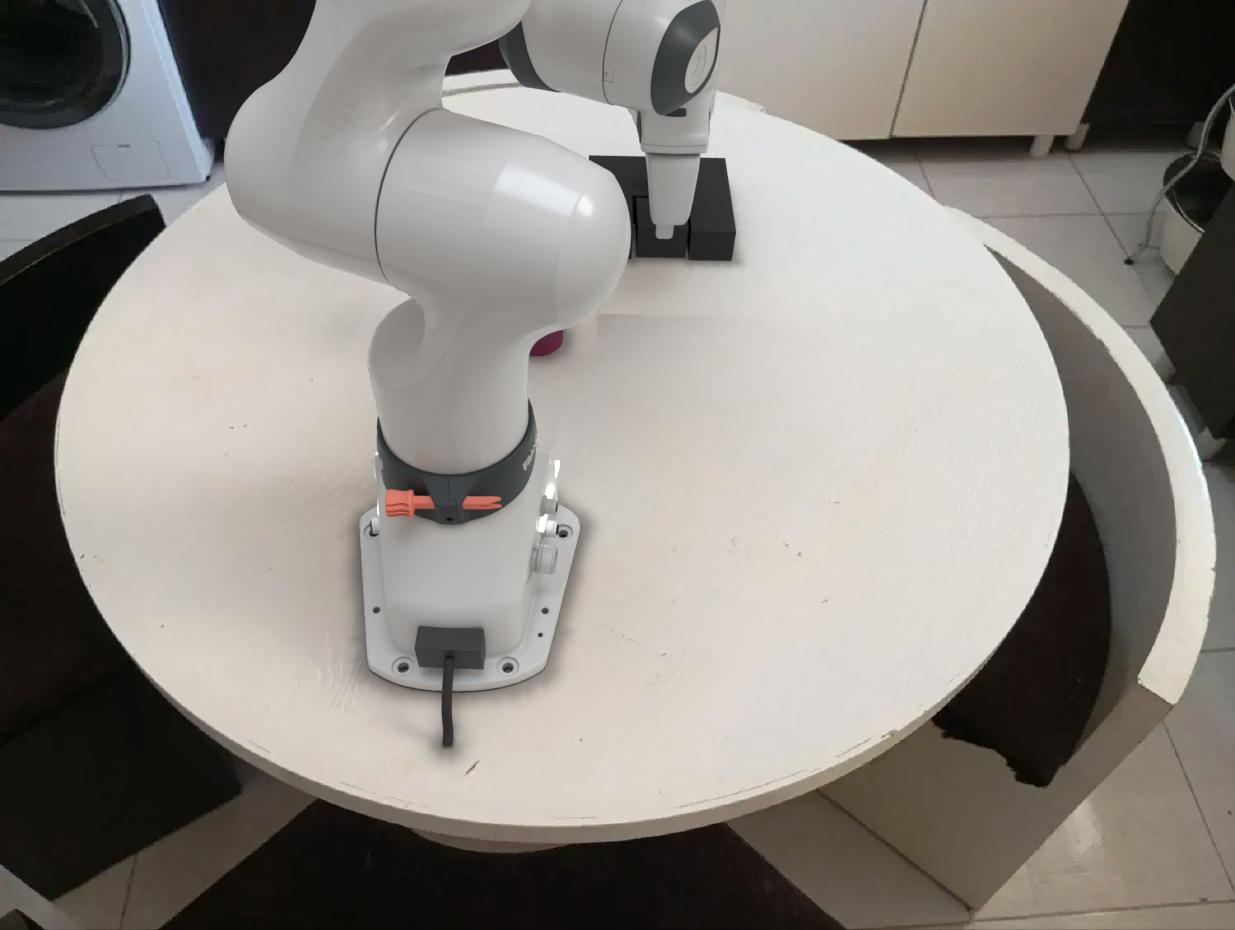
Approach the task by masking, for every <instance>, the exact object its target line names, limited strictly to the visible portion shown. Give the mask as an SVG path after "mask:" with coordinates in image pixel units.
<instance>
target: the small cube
mask: <svg viewBox="0 0 1235 930" xmlns="http://www.w3.org/2000/svg"><path fill="white" fill-rule="evenodd" d="M655 226H656V224H653V223H652V220H651V216H650V206H649V198H636V214H635V224H634V237H635V240H634V241H635V242H634V243H635V257H636V258H654V259H655V258H656V259H657V258H661V259H663V258H664V259H686V256H687V239H688V229H689V228H688V220H687V222H686V223H685V224H684V225H674V228H673V236H672V238H670V239H658V238H657V237H656V229H655Z"/></svg>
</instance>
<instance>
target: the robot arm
mask: <svg viewBox="0 0 1235 930" xmlns="http://www.w3.org/2000/svg"><path fill="white" fill-rule="evenodd" d="M726 8H727V0H315V5H314V9H313V13H312V15H311V18H310V21H309V24H308V27H307V29H306V32H305V34H304V36H303V39H302V40H301V43H300V45H299V46H298V48H297V50H296V52H295V54H294V55H293V57H292V58H291V60H290V61H289V63H288V64H286V66H285V67H283V69H282V71H281V72H279V73H278V74H277V75H276V76H275V77H274V78H272V79H271V80H269V81H268V82H266V83H264V84H263V85H261V86H259V87H258V88H257V89H256V90H255V91H254V92H253V93H252V94H251V95H249V96H248V98H246V100H245V101H244V102H243V103H242V105H241V106H240V108H239V109H238V111H237V112H236V114H235V116H234V117H233V120H232V122H231V124H230V126H229V130H228V132H227V136H226V140H225V145H224V152H223V168H224V169H223V170H224V179H225V185H226V188H227V191H228V194H229V198H230V201H231V203H232V205H233V208H234V209H235V211H236V212H237V214H238V215H239V217H240V218H241V219H242V220H243V221H244V222H245V223H246V224H247V225H248V226H250V227H251V228H253V229H255V230H256V231H257V232H259V233H261V234H263V235H264V236H266V237H268V238H269V239H271V240H273V241H274V242H275V243H277V244H279V245H281V246H282V247H285V248H287V249H288V250H290V251H292V253H293V252H294V253H295V254H297V255H299V256H301V257H302V258H304V259H306V260H308V261H310V262H313V263H316V264H320V265H323V266H327V267H329V268H333V269H336V270H339V271H342V272H345V273H348V274H351V275H353V276H354V275H355V276H358V277H361V278H364V279H367V280H370V281H372V282H373V281H374V282H377V283H380V284H383V285H386V286H389V287H393V288H394V289H396V290H398V291H399V292H402V293H405V294H406V295H408V296H409V297H410V298H408V299H406V300H405V301H402V302H401V303H399V304H398V305H397V306H395V307H393V308H392V309H391V310H390V311H388V313H387V314H386V315H385V316H384V317H382V319H381V320H380V322H379V324H378V325H377V326H376V328H375V330H374V332H373V334H372V337H371V340H370V343H369V346H368V350H367V355H366V357H367V358H366V366H367V371H368V375H369V380H370V384H371V389H372V393H373V399H374V402H375V403H374V404H375V406H376V411H377V418H376V449H377V452H375V457H373V458H371V460H370V464H371V467H372V471H373V475H374V478H375V483H376V497H377V498H376V499H377V505H375V506H374V507H372V508H370V509H369V510H367V511H366V512H364V513H363V514H361V517H360V519H359V521H358V523H359V524H358V525H359V542H360V560H361V573H362V574H361V576H362V578H361V579H362V595H363V596H362V597H363V609H364V611H363V613H364V628H365V644H366V645H365V646H366V659H367V665H368V668H369V670H370V671H371V672H373V673H374V674H375V675H376V676H379V677H380V678H383V679H385V680H387V681H389V682H391V683H394V684H397V685H400V686H403V687H407V688H413V689H418V690H424V691H425V690H426V691H434V692H435V691H437V692H438V691H439V692H441V705H440V706H441V708H440V709H441V710H440V711H441V721H442V722H441V723H442V742H441V743H442V744H441V745H442V746H443V747H452V746H453V744H454V721H453V692H473V691H474V692H475V691H484V690H492V689H497V688H503V687H507V686H511V685H515V684H517V683H520V682H523V681H525V680H528V679H529V678H531V677H533V676H535V675H537V674H538V673H540V672H542V671H544V669H545V667H546V665H547V663H548V659H549V656H550V651H551V647H552V645H553V640H554V636H555V631H556V628H557V623H558V621H559V616H560V612H561V608H562V604H563V601H564V596H565V593H566V590H567V589H566V588H567V585H568V581H569V576H570V573H571V568H572V564H573V561H574V557H575V553H576V549H577V544H578V541H579V537H580V534H581V533H580V532H581V524H580V519H579V517H578V515H576V514H575V512H573V511H572V510H570V509H568V508H567V507H565V506H564V505H562V504H559V497H558V495H559V494H558V482H557V477H558V473H559V470H560V460H554V459H552V457H551V456H550V455H549V454H548V453H546V452H545V451H544V450H543V449H542V448H541V447H540V446H539V445H538V444H537V439H538V430H537V420H536V417H535V414H534V408H533V404H532V401H531V400H530V398H529V390H528V389H529V387H528V382H529V381H528V379H529V359H530V355H529V353H530V350H531V348H532V347H533V345H534V344H535V343H536V342H537V341H538V340H539V339H540V338H542V337H544V336H546V335H547V334H550V333H552V332H555V331H559V330H563V329H564V330H568V329H571V328H574V327H576V326H578V325H579V324H581V323H583V322H584V321H586V320H587V319H589V318H590V317H591V316H593V315H594V314H595V313H596V312H597V311H598V310H600V309H601V308H603V305H604V304H606V302H607V301H608V300H609V298H610V297H611V296H612V295H613V293H614V292H615V290H616V288H617V286H618V285H619V284H620V282H621V280H622V277H623V275H624V272H625V270H626V267H627V264H628V260H629V259H628V256H629V251H630V244H631V224H630V216H629V211H628V207H627V203H626V199H625V197H624V194H623V192H622V189H621V187H620V185H619V183H618V181H617V180H616V178H615V176H614V175H613V174H612V173H611V172H610V171H608V170H607V169H605V168H603V167H601V166H599V165H598V164H596V163H594V162H592V161H590V160H589V158H587V157H584V155H581V154H579V153H578V152H575V151H573V150H572V149H569V148H567V147H565V146H563V145H561V144H559V143H557V142H555V141H553V140H551V139H550V138H547V137H545V136H542V135H539V134H535V133H532V132H528V131H524V130H520V129H517V128H513V127H509V126H506V125H502V124H498V123H494V122H491V121H487V120H484V119H479V118H477V117H472V116H468V115H465V114H462V113H457V112H454V111H451V110H450V109H448V108H445V107H444V103H443V97H442V95H443V94H442V93H443V83H444V79H445V75H446V71H447V67H448V65H449V63H450V60H451V58H452V57H453V56H457V55H461V54H462V53H466V52H469V51H472V50H474V49H477V48H480V47H482V46H485V45H487V44H490V43H492V42H494V41H496V40H498V47H499V51H500V53H501V56H502V58H503V60H504V62H505V64H506V66H507V67H508V69H509V71H510V72H511V74H512V75H513V77H514V78H515V80H516V81H517V83H519V84H520V85H521V86H523V87H524V88H527V89H533V90H541V91H547V92H551V93H564V94H567V95H571V96H575V97H579V98H582V99H586V100H590V101H594V102H597V103H601V104H605V105H609V106H616V107H621V108H624V109H626V110H627V111H628V113H629V114H630V115H631V118H632V121H633V123H634V125H635V128H636V132H637V136H638V143H639V144H640V145H639V146H640V151H641V152H643V153H644V156H645V157H646V165H647V176H648V191H649V206H650V216H651V220H652V223H653V224H656V226H655V229H656V237H657V238H658V239H670V238H672V236H673V228H674V225H684V224H685V223H686V222H687V220H688V218H689V215H690V212H691V207H692V202H693V198H694V192H695V187H696V182H697V177H698V171H699V164H700V157H701V154H706V153H707V152H708V150H709V143H710V131H711V130H710V128H711V127H710V123H711V120H712V116H713V113H714V110H715V103H716V95H717V94H716V92H717V87H718V85H717V84H718V77H719V69H720V68H719V67H720V55H719V47H720V39H721V33H722V30H723V27H724V23H725V17H726ZM372 535H375V536H372ZM563 535H564V536H565V537H560V536H563ZM402 668H407V670H406V671H404V672H402V671H400V670H401V669H402ZM507 668H511V669H512V670H511V671H509V672H505V671H504V670H505V669H507Z"/></svg>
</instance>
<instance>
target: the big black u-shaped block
mask: <svg viewBox="0 0 1235 930" xmlns="http://www.w3.org/2000/svg"><path fill="white" fill-rule="evenodd" d="M588 160H590V161H592V162H594V163H596V164H598V165H599V166H601V167H603V168H605V169H607V170H608V171H610V172H611V173H612V174H613V175H614V176H615V178H616V180H617V181H618V183H619V185H620V187H621V189H622V192H623V194H624V197H625V199H626V203H627V207H628V211H629V216H630V224H631V244H630V251H629V256H628V260H632V259H633V246H634V245H633V243H634V225H635V214H636V198H649V191H648V176H647V165H646V157H645V155H602V154H601V155H600V154H599V155H597V154H596V155H595V154H594V155H593V154H589V155H588ZM736 227H737V226H736V221H735V215H734V207H733V201H732V195H731V188H730V181H729V174H728V166H727V161H726V157H702V156H700V164H699V171H698V177H697V182H696V187H695V192H694V198H693V202H692V207H691V212H690V215H689V218H688V228H689V229H688V239H687V248H686V251H687V258H688V259H687V260H688V261H709V262H711V261H714V262H715V261H716V262H717V261H718V262H732V261H733V257H734V256H733V255H734V250H735V242H736V235H737V228H736Z"/></svg>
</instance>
